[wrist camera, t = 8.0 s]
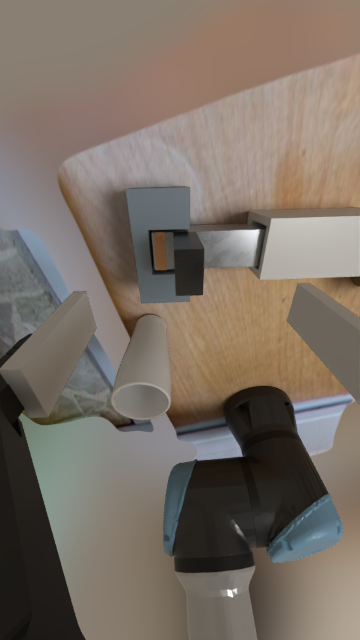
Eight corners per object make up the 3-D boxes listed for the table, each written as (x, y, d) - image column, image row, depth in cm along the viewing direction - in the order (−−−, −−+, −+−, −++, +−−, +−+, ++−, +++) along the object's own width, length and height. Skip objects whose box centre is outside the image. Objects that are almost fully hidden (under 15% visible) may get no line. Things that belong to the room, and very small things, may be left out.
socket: (186, 281, 32) (189, 301, 26) (146, 282, 32) (141, 303, 26) (185, 186, 25) (189, 187, 20) (135, 187, 25) (125, 189, 20)
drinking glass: (125, 313, 34) (99, 388, 22) (166, 305, 34) (162, 377, 21) (138, 345, 38) (122, 424, 25) (175, 337, 37) (177, 416, 25)
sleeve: (338, 257, 31) (379, 275, 24) (242, 260, 30) (259, 279, 24) (357, 207, 27) (411, 214, 21) (248, 210, 27) (271, 218, 21)
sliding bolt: (291, 255, 28) (351, 290, 19) (156, 259, 28) (149, 297, 19) (300, 221, 26) (373, 242, 17) (154, 226, 26) (144, 249, 16)
